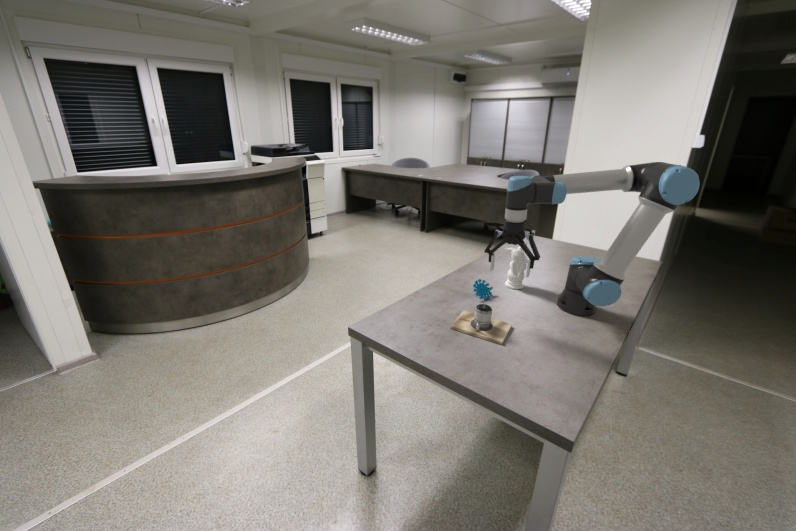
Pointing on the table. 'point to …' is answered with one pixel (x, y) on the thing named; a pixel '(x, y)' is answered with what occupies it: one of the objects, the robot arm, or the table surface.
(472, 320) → the seat
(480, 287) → the gear
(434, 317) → the table surface
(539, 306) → the table surface
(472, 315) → the mount
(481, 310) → the camera lens
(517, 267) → the white statue
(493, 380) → the table surface
